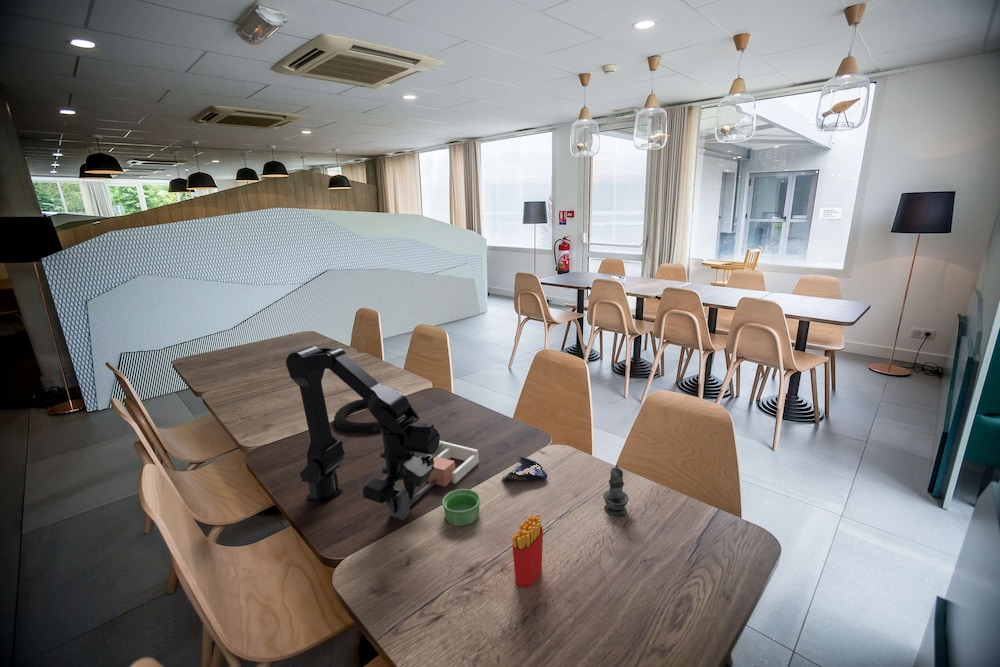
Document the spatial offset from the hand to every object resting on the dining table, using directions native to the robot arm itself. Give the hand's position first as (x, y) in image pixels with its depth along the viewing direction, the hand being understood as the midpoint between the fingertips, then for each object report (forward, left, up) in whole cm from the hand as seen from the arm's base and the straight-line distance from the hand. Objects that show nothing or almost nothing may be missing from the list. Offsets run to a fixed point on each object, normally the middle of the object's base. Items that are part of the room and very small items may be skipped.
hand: (402, 505), depth 109 cm
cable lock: (+38, +45, -2) cm, 59 cm away
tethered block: (+8, 0, -2) cm, 8 cm away
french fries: (-5, -36, -2) cm, 36 cm away
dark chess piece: (+23, -46, -2) cm, 51 cm away
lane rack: (+21, +5, -2) cm, 22 cm away
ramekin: (+5, -14, -2) cm, 15 cm away
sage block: (+23, +9, -2) cm, 25 cm away
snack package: (+27, -20, -2) cm, 34 cm away
